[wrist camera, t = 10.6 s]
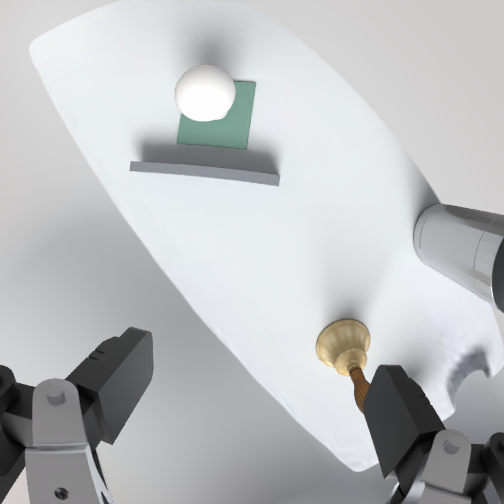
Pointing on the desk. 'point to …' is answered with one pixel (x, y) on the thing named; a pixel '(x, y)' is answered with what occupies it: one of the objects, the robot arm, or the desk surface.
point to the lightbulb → (205, 93)
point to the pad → (222, 123)
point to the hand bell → (346, 353)
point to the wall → (206, 172)
